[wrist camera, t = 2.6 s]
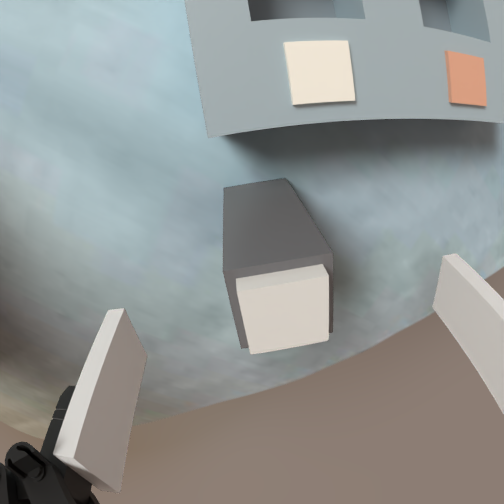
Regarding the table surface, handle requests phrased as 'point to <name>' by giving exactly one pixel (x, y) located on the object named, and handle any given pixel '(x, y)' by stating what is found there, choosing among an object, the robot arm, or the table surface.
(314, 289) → the plug
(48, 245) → the table surface
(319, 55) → the socket box
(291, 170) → the table surface
